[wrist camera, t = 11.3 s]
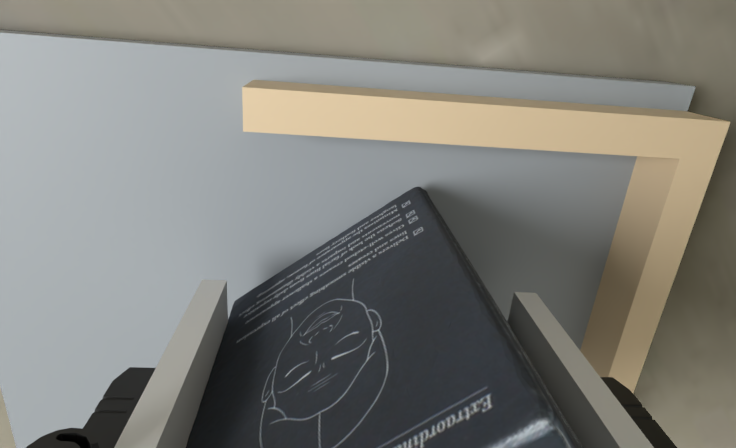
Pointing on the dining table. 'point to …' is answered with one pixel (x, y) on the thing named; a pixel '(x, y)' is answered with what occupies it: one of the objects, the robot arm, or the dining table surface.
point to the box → (377, 351)
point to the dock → (315, 193)
